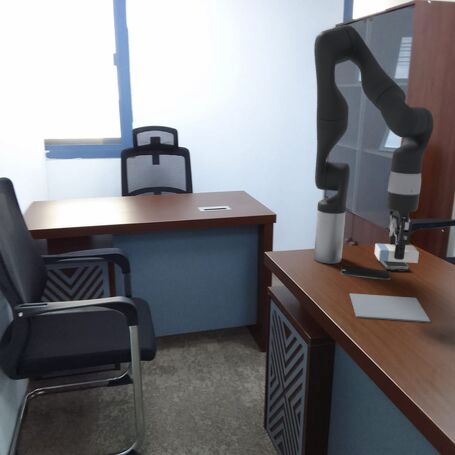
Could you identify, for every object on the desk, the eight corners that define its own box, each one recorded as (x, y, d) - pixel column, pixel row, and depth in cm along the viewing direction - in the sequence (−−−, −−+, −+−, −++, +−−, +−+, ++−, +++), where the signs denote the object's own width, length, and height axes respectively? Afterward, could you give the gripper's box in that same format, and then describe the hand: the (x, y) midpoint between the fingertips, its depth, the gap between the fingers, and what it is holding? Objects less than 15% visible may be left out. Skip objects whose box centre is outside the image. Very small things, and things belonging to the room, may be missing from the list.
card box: (411, 255, 122) (412, 245, 122) (417, 263, 117) (419, 252, 116) (374, 253, 123) (375, 243, 123) (378, 260, 118) (379, 250, 117)
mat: (349, 294, 132) (349, 293, 132) (415, 299, 129) (416, 297, 129) (356, 317, 118) (356, 315, 118) (430, 322, 116) (430, 321, 116)
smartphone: (341, 265, 153) (389, 270, 149) (341, 267, 154) (389, 272, 150) (340, 273, 146) (390, 279, 142) (340, 276, 147) (390, 281, 143)
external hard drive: (387, 272, 150) (387, 266, 150) (376, 260, 161) (376, 254, 160) (408, 272, 150) (409, 266, 150) (396, 260, 161) (396, 255, 160)
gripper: (427, 196, 108) (418, 265, 113) (411, 186, 122) (404, 247, 126) (394, 195, 109) (386, 263, 113) (382, 184, 123) (375, 246, 127)
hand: (395, 254), depth 120 cm, fingers closed on card box, 5 cm apart
